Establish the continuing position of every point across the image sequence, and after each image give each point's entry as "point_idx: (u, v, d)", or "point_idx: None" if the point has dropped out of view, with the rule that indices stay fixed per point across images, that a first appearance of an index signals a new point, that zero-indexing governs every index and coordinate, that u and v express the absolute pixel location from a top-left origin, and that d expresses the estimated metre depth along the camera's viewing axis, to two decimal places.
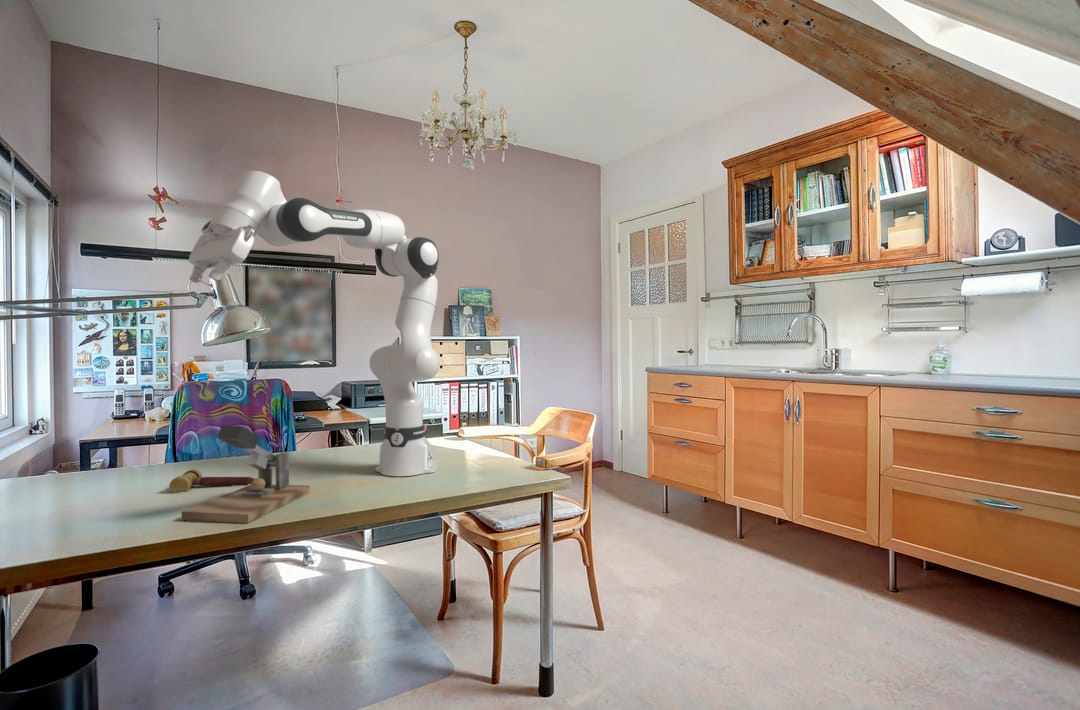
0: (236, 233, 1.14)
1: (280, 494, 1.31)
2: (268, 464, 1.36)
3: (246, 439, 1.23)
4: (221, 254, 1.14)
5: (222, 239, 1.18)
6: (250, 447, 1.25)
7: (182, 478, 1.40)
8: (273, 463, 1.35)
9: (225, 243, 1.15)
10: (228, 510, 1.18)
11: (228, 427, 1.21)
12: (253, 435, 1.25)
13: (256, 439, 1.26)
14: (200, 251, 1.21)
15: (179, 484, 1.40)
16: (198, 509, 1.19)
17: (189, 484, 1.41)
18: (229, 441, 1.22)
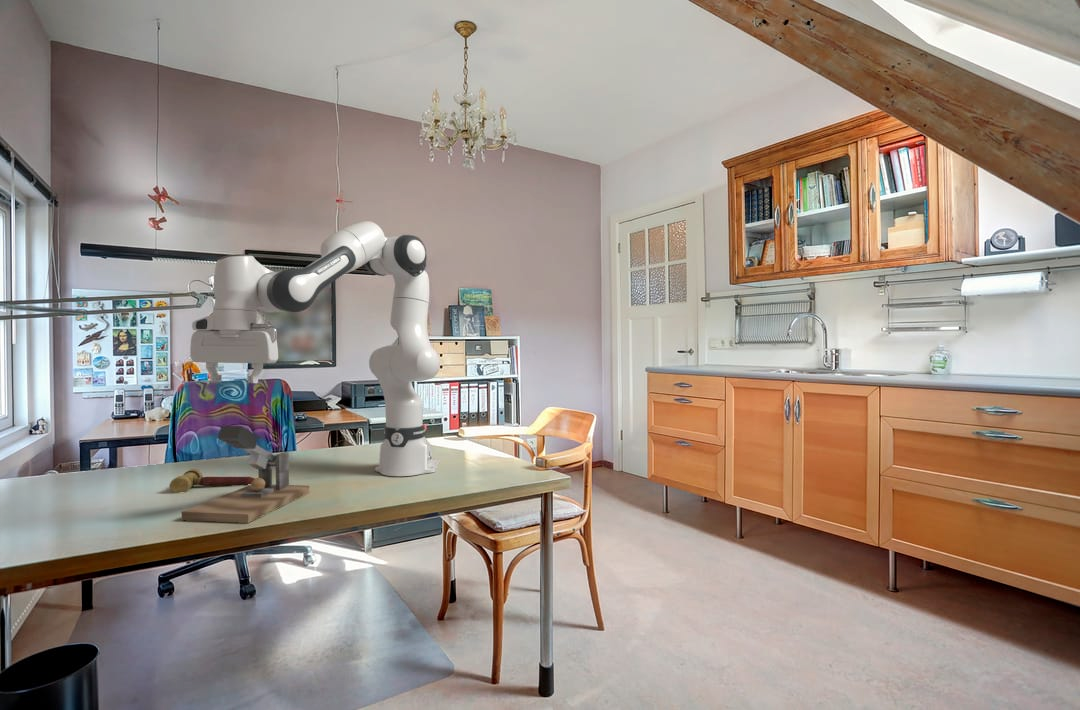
0: (263, 339, 1.20)
1: (280, 494, 1.31)
2: (268, 464, 1.36)
3: (246, 439, 1.23)
4: (255, 362, 1.20)
5: (237, 341, 1.21)
6: (250, 447, 1.25)
7: (182, 478, 1.40)
8: (273, 463, 1.35)
9: (251, 349, 1.20)
10: (228, 510, 1.18)
11: (228, 427, 1.21)
12: (253, 435, 1.25)
13: (256, 439, 1.26)
14: (208, 352, 1.22)
15: (179, 484, 1.40)
16: (198, 509, 1.19)
17: (189, 484, 1.41)
18: (229, 441, 1.22)
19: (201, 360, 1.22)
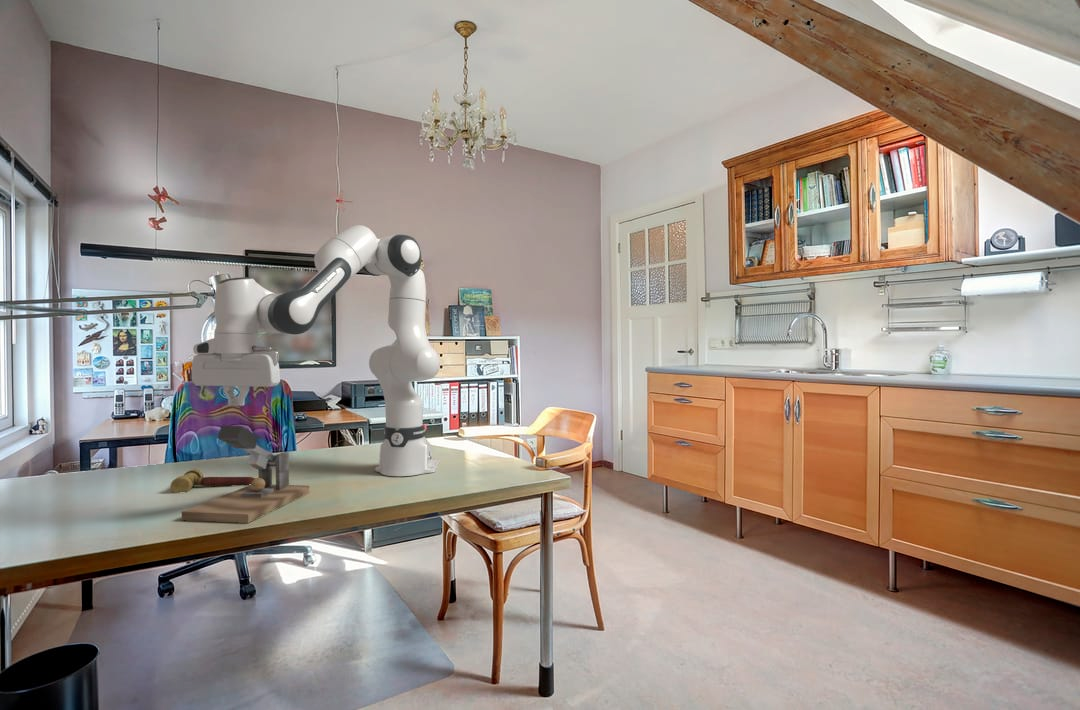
0: (265, 363, 1.20)
1: (280, 494, 1.31)
2: (268, 464, 1.36)
3: (246, 439, 1.23)
4: (258, 385, 1.21)
5: (239, 364, 1.21)
6: (250, 447, 1.25)
7: (183, 478, 1.40)
8: (273, 463, 1.35)
9: (253, 372, 1.21)
10: (228, 510, 1.18)
11: (228, 427, 1.21)
12: (253, 435, 1.25)
13: (256, 439, 1.26)
14: (210, 375, 1.22)
15: (180, 484, 1.40)
16: (198, 509, 1.19)
17: (190, 484, 1.41)
18: (229, 441, 1.22)
19: (203, 383, 1.22)
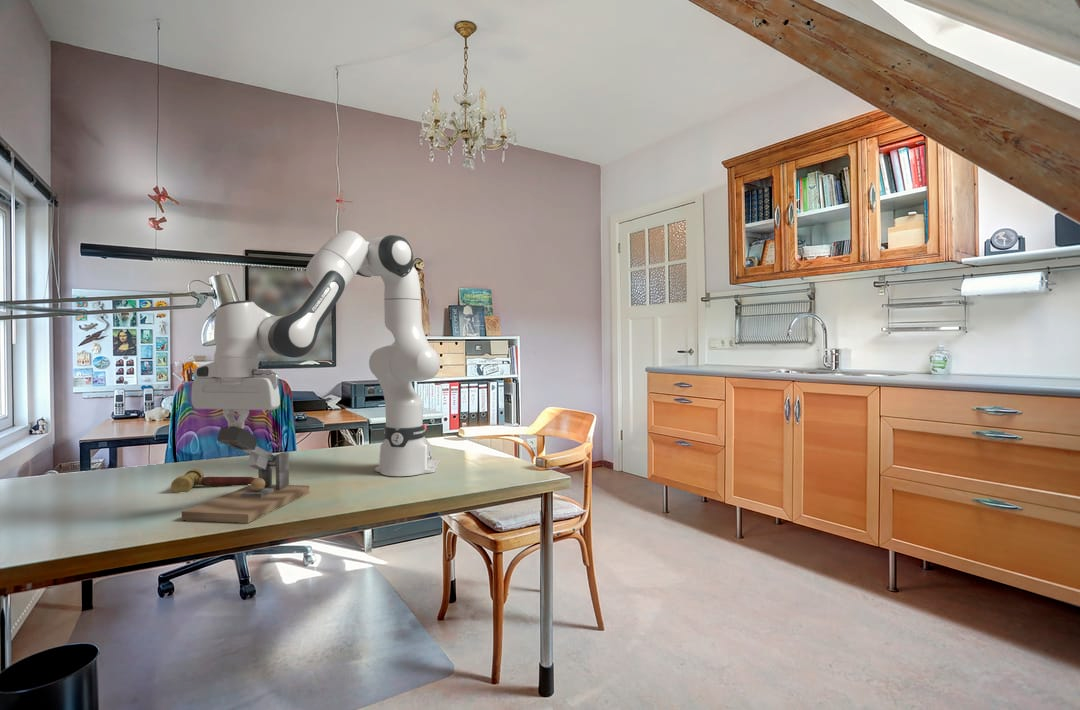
0: (265, 386, 1.20)
1: (280, 494, 1.31)
2: (268, 464, 1.36)
3: (245, 441, 1.23)
4: (257, 409, 1.21)
5: (239, 388, 1.21)
6: (250, 448, 1.25)
7: (184, 478, 1.40)
8: (273, 463, 1.36)
9: (253, 396, 1.21)
10: (228, 510, 1.18)
11: (227, 429, 1.21)
12: (252, 436, 1.25)
13: (256, 440, 1.26)
14: (209, 398, 1.22)
15: (181, 483, 1.40)
16: (198, 509, 1.19)
17: (191, 484, 1.41)
18: (228, 443, 1.22)
19: (202, 407, 1.22)
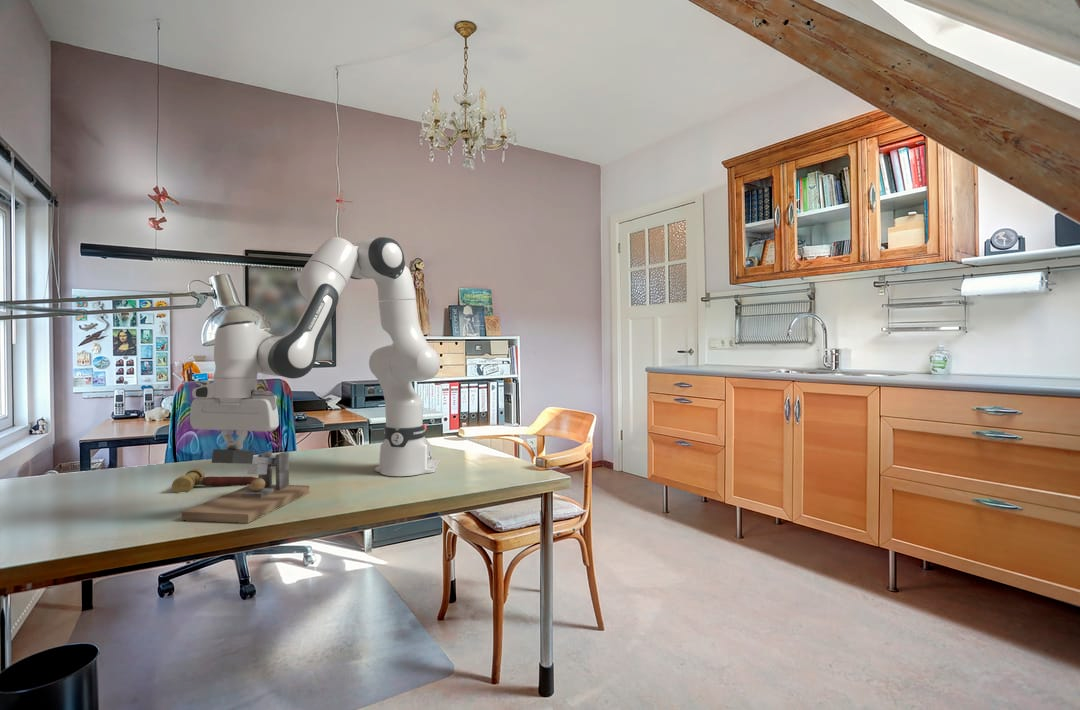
0: (264, 408, 1.20)
1: (280, 494, 1.31)
2: (269, 465, 1.36)
3: (241, 459, 1.21)
4: (256, 430, 1.20)
5: (238, 408, 1.21)
6: (247, 463, 1.24)
7: (185, 478, 1.40)
8: (273, 464, 1.36)
9: (252, 417, 1.20)
10: (228, 510, 1.18)
11: (220, 451, 1.19)
12: (248, 452, 1.23)
13: (251, 454, 1.25)
14: (208, 419, 1.22)
15: (181, 483, 1.40)
16: (198, 509, 1.19)
17: (192, 484, 1.41)
18: None
19: (201, 427, 1.22)
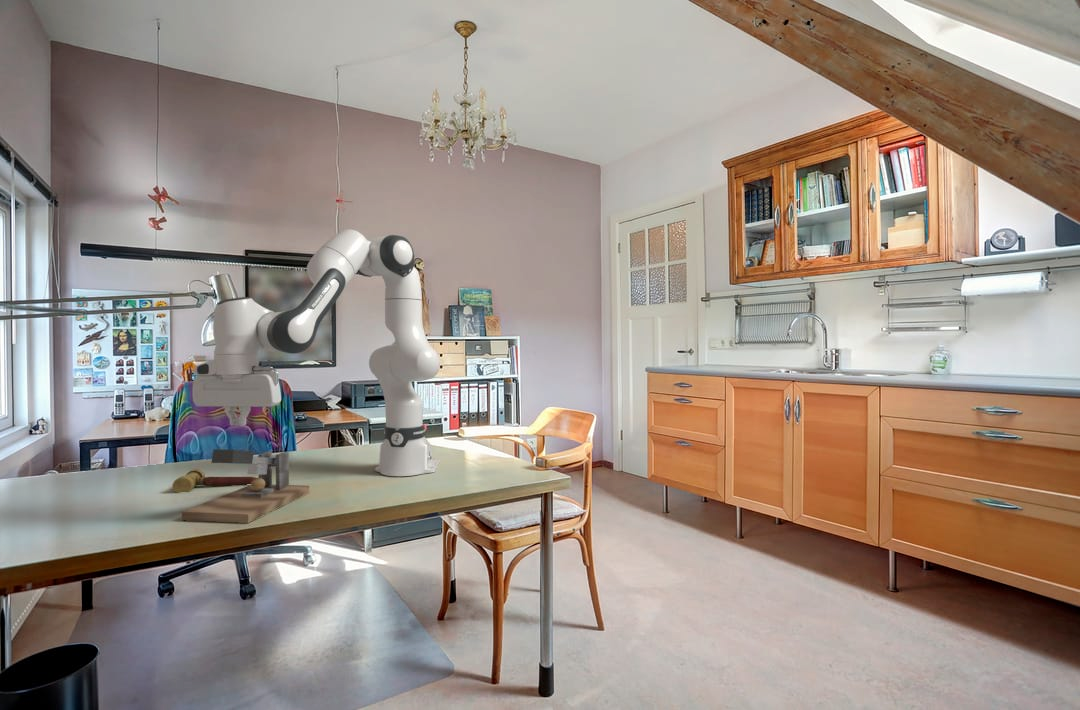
0: (266, 383, 1.20)
1: (280, 494, 1.31)
2: (269, 465, 1.36)
3: (241, 459, 1.21)
4: (259, 405, 1.21)
5: (240, 384, 1.22)
6: (247, 463, 1.24)
7: (185, 478, 1.40)
8: (273, 464, 1.36)
9: (254, 392, 1.21)
10: (228, 510, 1.18)
11: (220, 451, 1.19)
12: (248, 452, 1.23)
13: (251, 454, 1.25)
14: (210, 396, 1.22)
15: (182, 484, 1.40)
16: (198, 509, 1.19)
17: (192, 484, 1.41)
18: None
19: (204, 404, 1.23)
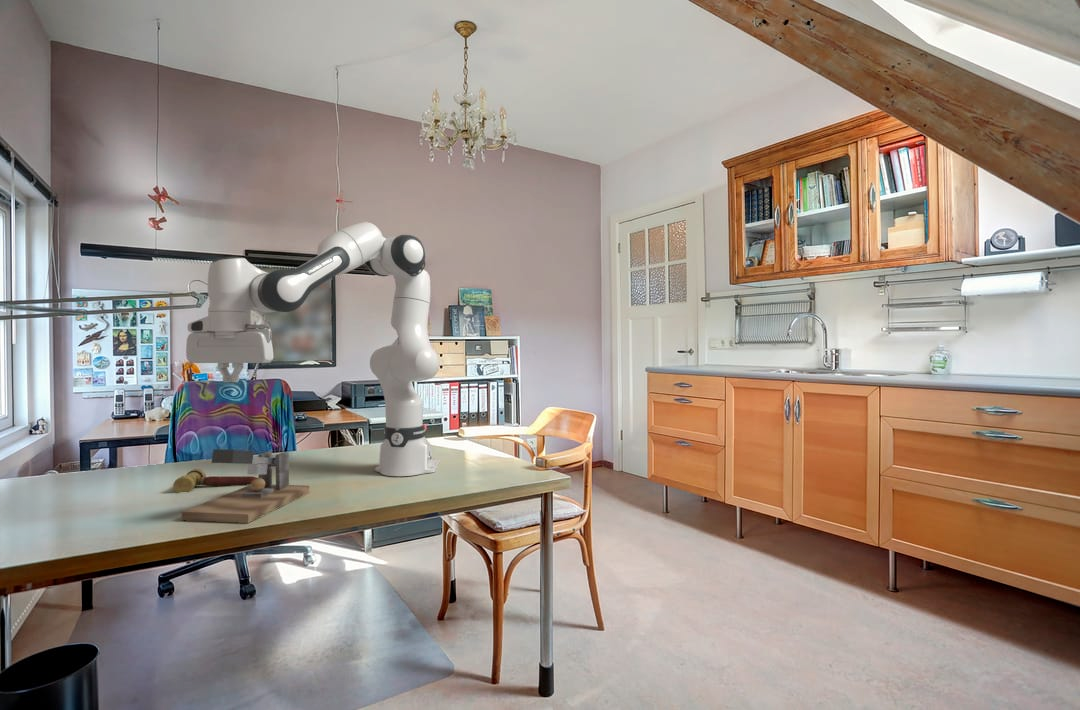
0: (259, 340, 1.24)
1: (280, 494, 1.31)
2: (269, 465, 1.36)
3: (241, 459, 1.21)
4: (251, 361, 1.24)
5: (233, 341, 1.25)
6: (247, 463, 1.24)
7: (186, 478, 1.40)
8: (273, 464, 1.36)
9: (247, 349, 1.24)
10: (228, 510, 1.18)
11: (220, 451, 1.19)
12: (248, 452, 1.23)
13: (251, 454, 1.25)
14: (204, 353, 1.25)
15: (183, 483, 1.40)
16: (198, 509, 1.19)
17: (193, 484, 1.41)
18: None
19: (197, 361, 1.25)
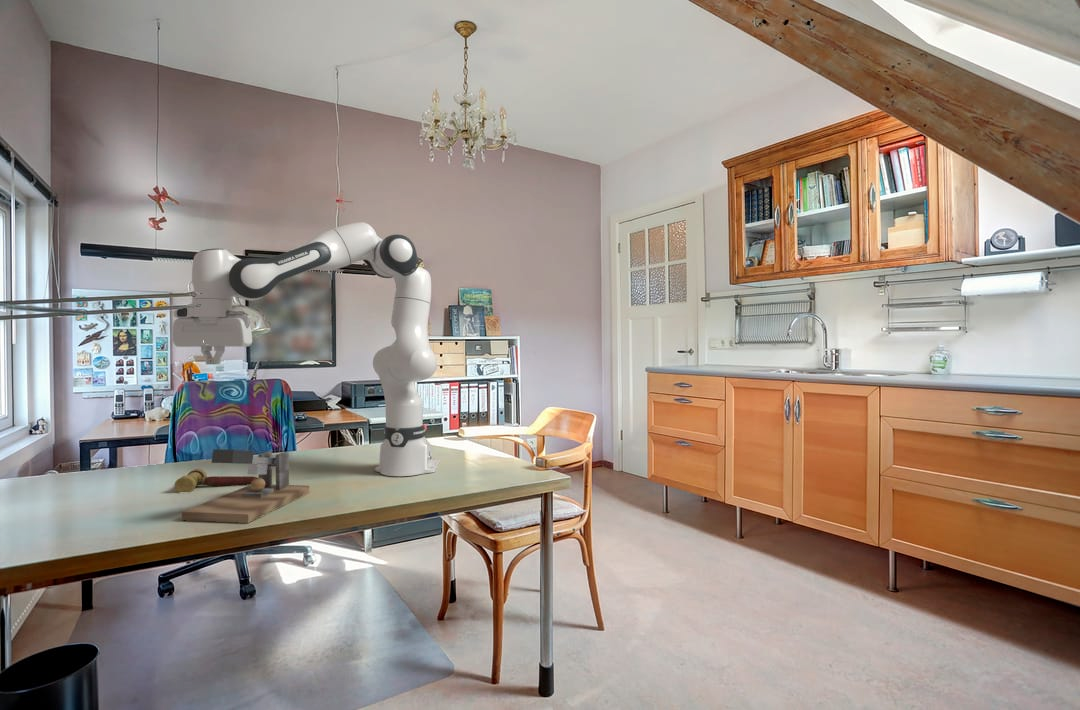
0: (238, 325, 1.34)
1: (280, 494, 1.31)
2: (269, 465, 1.36)
3: (241, 459, 1.21)
4: (231, 345, 1.35)
5: (215, 327, 1.36)
6: (247, 463, 1.24)
7: (187, 478, 1.40)
8: (273, 464, 1.36)
9: (227, 333, 1.35)
10: (228, 510, 1.18)
11: (220, 451, 1.19)
12: (248, 452, 1.23)
13: (251, 454, 1.25)
14: (188, 337, 1.36)
15: (184, 483, 1.40)
16: (198, 509, 1.19)
17: (194, 484, 1.41)
18: None
19: (182, 344, 1.37)
